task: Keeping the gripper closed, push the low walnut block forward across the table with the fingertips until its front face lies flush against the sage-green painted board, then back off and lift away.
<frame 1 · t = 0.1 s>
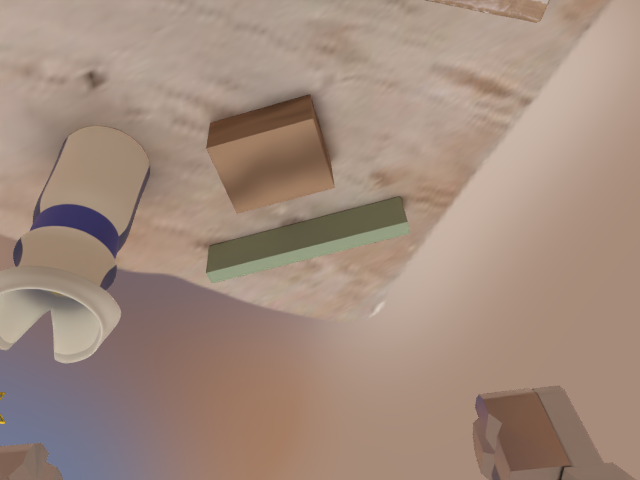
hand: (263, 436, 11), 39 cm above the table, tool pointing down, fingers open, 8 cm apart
water bottle: (108, 165, 51), on the table
green board: (304, 227, 57), on the table
walnut block: (272, 141, 51), on the table
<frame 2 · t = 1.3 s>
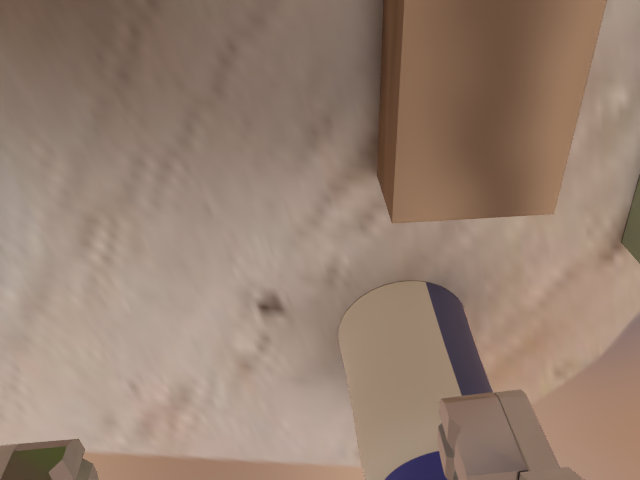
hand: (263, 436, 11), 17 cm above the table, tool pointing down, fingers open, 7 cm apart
water bottle: (406, 327, 34), on the table
walnut block: (457, 79, 25), on the table
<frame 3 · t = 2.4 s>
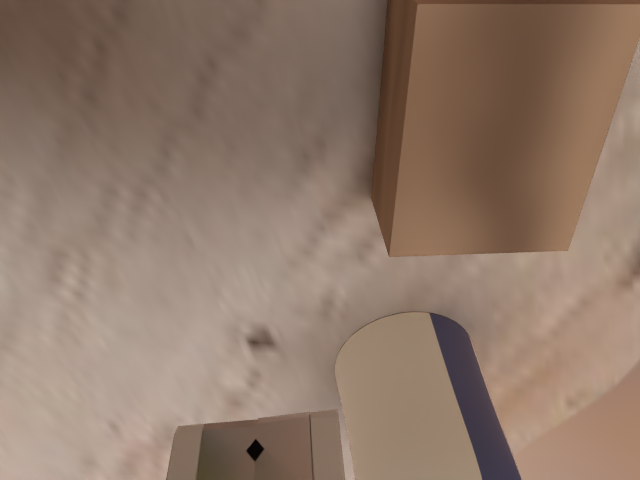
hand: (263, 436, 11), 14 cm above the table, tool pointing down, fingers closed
water bottle: (408, 360, 31), on the table
walnut block: (464, 96, 23), on the table
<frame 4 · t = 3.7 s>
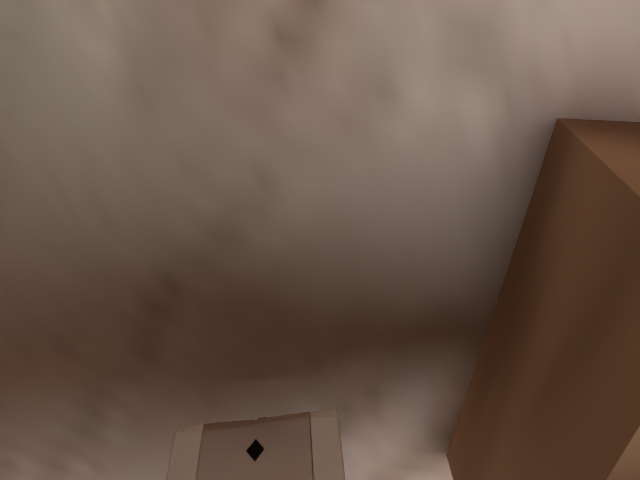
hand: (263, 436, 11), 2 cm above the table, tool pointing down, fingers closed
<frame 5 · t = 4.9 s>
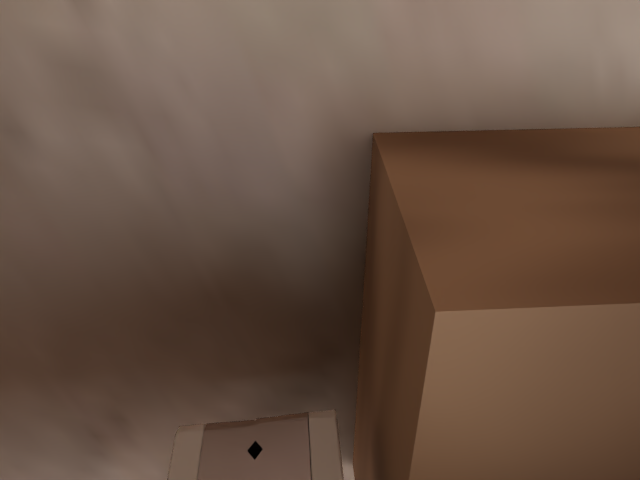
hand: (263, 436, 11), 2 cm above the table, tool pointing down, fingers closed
walnut block: (522, 322, 12), on the table, touching gripper
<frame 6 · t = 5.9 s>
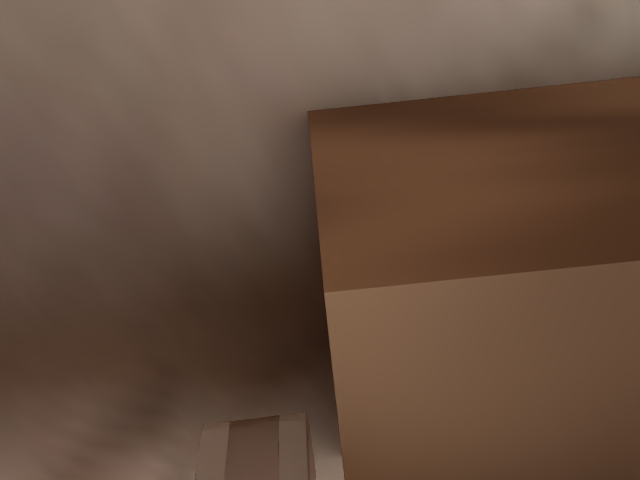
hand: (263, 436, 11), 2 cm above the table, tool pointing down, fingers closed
walnut block: (502, 301, 11), on the table, touching green board, gripper
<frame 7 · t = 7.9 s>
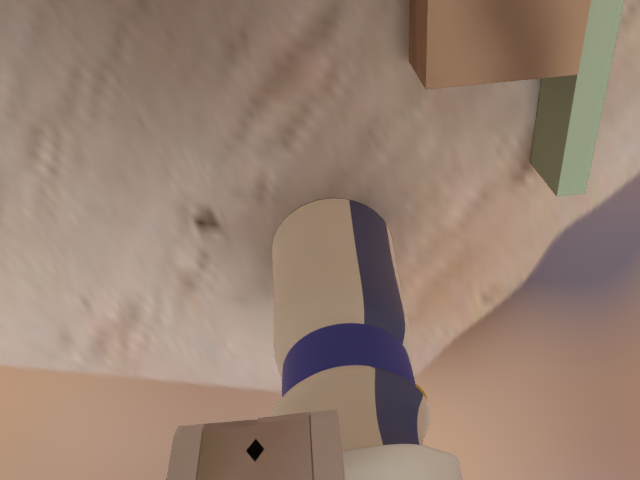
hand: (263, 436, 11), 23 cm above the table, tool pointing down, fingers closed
water bottle: (336, 247, 36), on the table
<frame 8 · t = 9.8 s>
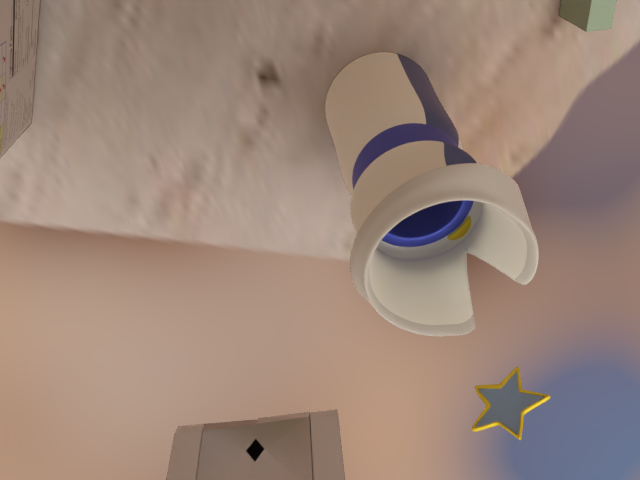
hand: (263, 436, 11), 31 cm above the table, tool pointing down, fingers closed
water bottle: (382, 104, 40), on the table
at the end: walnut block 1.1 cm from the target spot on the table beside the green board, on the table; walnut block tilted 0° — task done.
